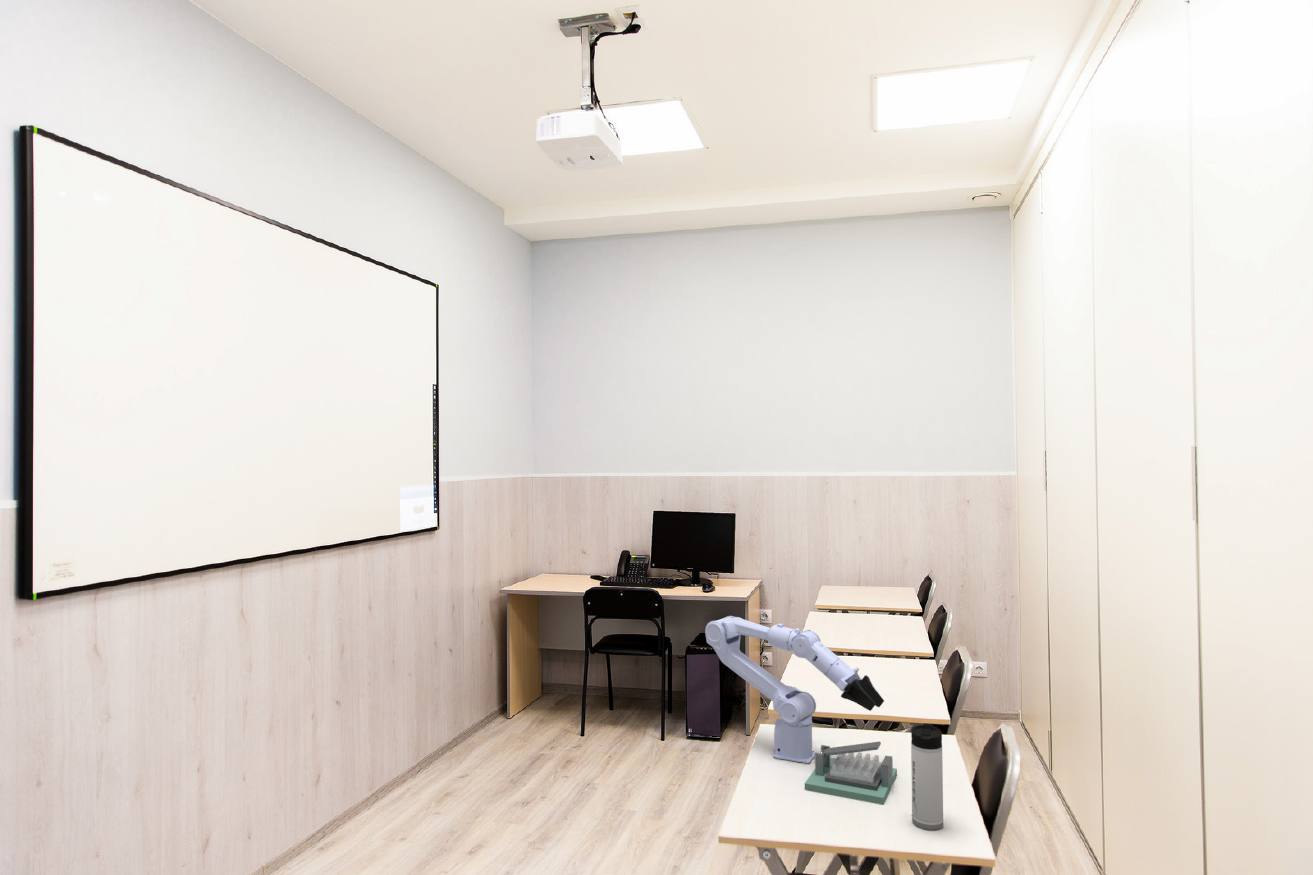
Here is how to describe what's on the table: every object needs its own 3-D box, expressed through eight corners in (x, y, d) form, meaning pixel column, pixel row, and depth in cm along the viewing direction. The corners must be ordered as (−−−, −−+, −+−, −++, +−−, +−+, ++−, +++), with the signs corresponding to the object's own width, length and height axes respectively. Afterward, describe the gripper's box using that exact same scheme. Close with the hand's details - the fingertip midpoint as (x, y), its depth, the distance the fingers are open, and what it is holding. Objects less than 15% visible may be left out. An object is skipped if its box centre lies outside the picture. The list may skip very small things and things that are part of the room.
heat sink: (813, 777, 185) (813, 756, 185) (823, 762, 194) (823, 742, 194) (886, 790, 178) (886, 768, 178) (894, 774, 187) (893, 753, 187)
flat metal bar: (819, 757, 188) (817, 753, 188) (823, 752, 191) (822, 748, 192) (878, 750, 182) (876, 746, 182) (881, 744, 185) (879, 740, 185)
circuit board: (804, 789, 182) (804, 778, 182) (823, 762, 198) (823, 752, 198) (883, 804, 174) (883, 793, 174) (896, 774, 190) (896, 764, 190)
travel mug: (944, 819, 167) (943, 725, 167) (941, 833, 161) (940, 735, 161) (914, 814, 170) (913, 721, 170) (910, 827, 164) (909, 731, 164)
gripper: (833, 656, 190) (878, 695, 183) (851, 653, 202) (894, 690, 195) (816, 679, 191) (861, 719, 184) (835, 675, 203) (878, 712, 196)
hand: (877, 705), depth 190 cm, fingers open, 7 cm apart
